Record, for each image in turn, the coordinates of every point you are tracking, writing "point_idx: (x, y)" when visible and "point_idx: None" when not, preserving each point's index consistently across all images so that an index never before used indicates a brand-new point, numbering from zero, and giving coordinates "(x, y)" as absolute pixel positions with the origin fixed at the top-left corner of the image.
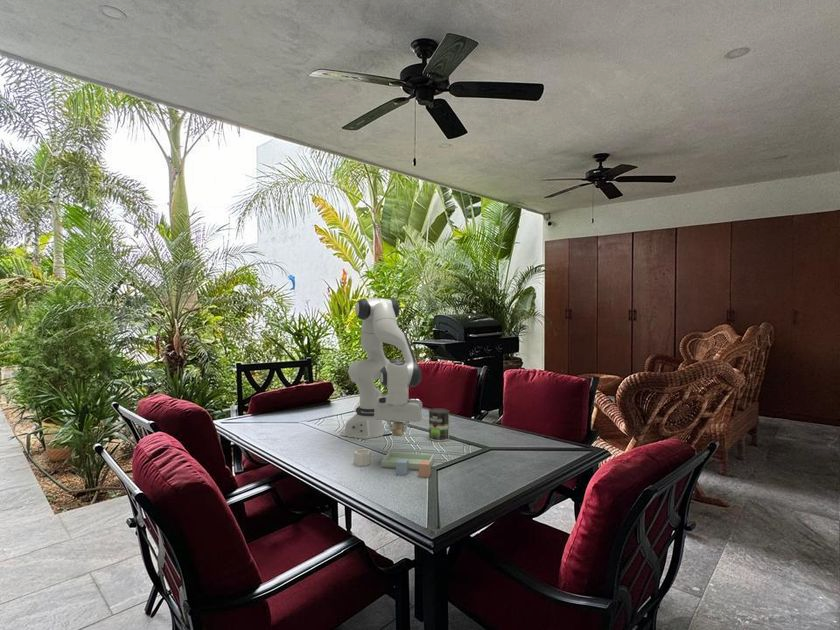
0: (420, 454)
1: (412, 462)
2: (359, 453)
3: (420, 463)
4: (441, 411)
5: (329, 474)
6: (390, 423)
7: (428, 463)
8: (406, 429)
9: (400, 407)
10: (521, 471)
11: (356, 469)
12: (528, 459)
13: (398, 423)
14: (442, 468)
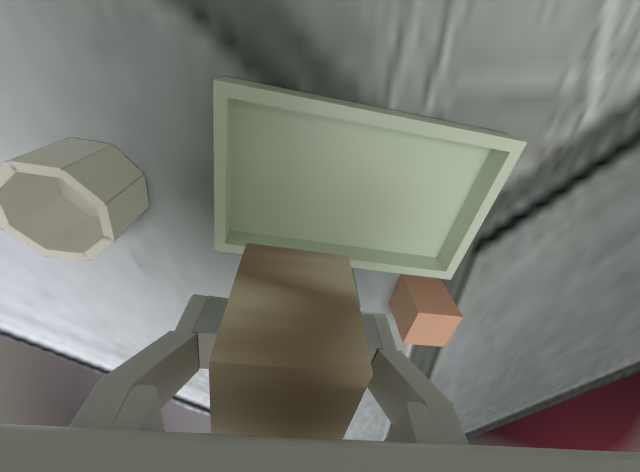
0: (440, 136)
1: (376, 186)
2: (56, 250)
3: (411, 340)
4: None
5: (34, 305)
6: (160, 378)
7: (445, 338)
8: (387, 323)
9: None
10: None
11: (115, 258)
12: None
13: (293, 423)
14: (507, 230)
